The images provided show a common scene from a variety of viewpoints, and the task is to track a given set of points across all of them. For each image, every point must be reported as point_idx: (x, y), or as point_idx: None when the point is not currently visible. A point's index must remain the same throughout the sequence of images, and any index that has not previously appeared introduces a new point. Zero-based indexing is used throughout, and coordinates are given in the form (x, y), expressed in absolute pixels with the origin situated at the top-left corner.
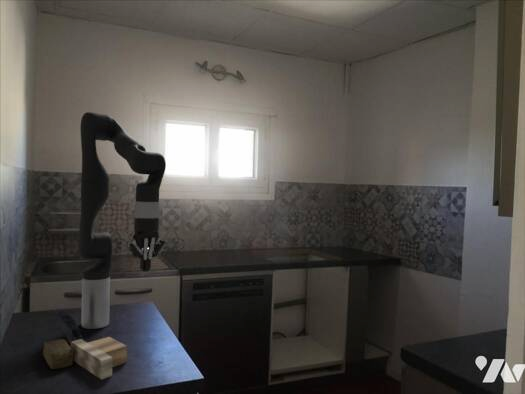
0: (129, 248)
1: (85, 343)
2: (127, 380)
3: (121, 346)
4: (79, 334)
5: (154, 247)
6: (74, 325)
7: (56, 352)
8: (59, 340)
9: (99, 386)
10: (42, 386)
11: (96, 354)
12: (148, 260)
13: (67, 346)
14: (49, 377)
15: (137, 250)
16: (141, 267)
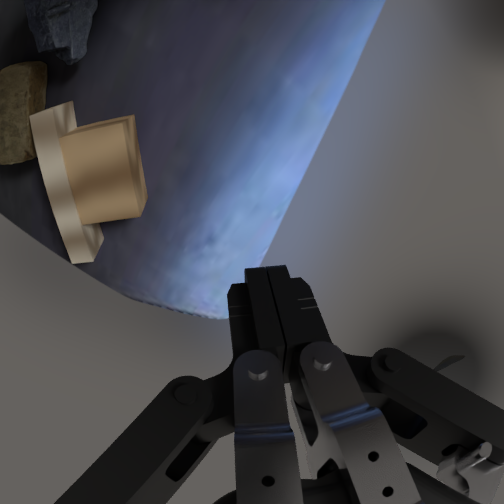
0: (85, 490)
1: (54, 147)
2: (124, 268)
3: (127, 212)
4: (68, 47)
5: (431, 429)
6: (45, 37)
7: (2, 161)
8: (17, 77)
9: None
10: (4, 207)
11: (66, 229)
12: (288, 377)
13: (22, 132)
14: (11, 178)
15: (168, 490)
16: (232, 307)
